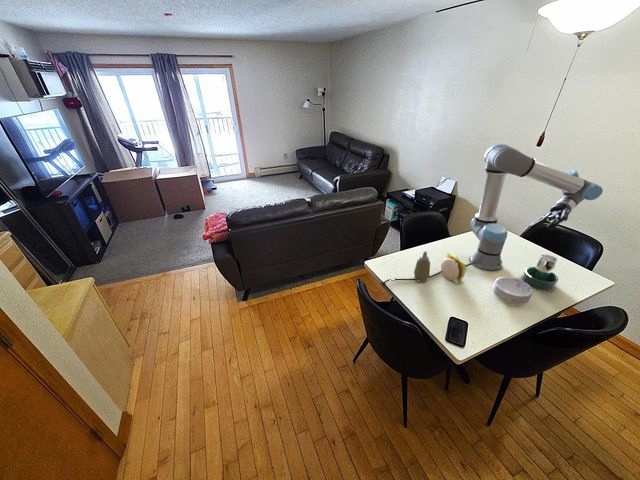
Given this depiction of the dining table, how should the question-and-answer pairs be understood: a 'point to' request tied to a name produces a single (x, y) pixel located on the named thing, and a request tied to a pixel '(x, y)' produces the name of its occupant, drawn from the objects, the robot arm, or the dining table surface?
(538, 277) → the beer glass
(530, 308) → the dining table surface
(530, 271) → the glazed bowl
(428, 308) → the dining table surface
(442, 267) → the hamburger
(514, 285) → the lavender bowl
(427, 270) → the squeeze bottle
